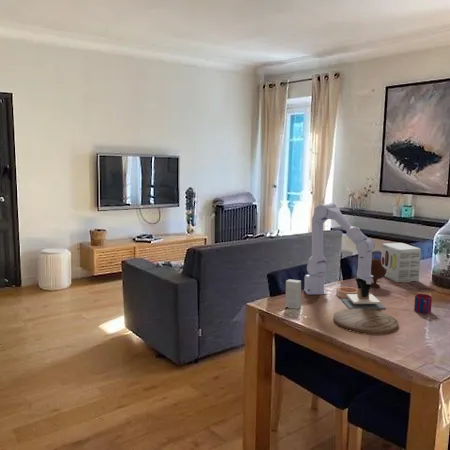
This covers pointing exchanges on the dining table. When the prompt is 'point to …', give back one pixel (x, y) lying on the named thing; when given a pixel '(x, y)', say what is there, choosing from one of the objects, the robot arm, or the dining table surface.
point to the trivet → (365, 321)
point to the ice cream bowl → (377, 271)
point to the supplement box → (401, 261)
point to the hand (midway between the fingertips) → (363, 295)
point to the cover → (363, 298)
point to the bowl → (346, 291)
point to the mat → (361, 305)
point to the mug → (423, 303)
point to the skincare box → (293, 293)
